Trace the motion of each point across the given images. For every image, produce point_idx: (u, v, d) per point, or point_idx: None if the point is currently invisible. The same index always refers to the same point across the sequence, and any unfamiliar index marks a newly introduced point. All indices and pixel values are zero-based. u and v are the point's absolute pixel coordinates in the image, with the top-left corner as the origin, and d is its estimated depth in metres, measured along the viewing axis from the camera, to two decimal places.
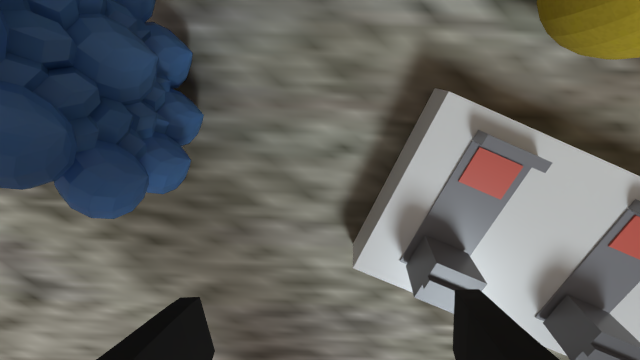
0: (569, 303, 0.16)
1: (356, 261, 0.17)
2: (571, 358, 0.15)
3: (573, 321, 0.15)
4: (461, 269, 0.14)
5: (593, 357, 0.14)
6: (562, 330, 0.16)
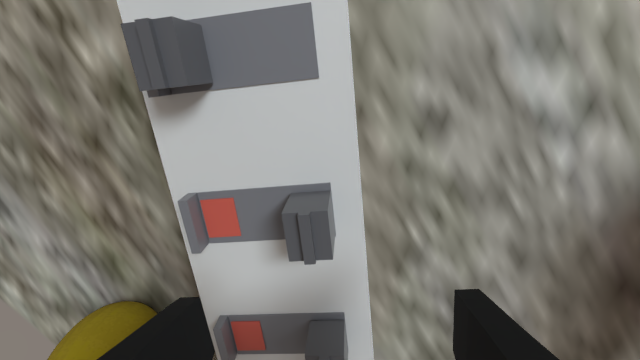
0: None
1: None
2: None
3: None
4: None
5: (313, 259, 0.14)
6: None
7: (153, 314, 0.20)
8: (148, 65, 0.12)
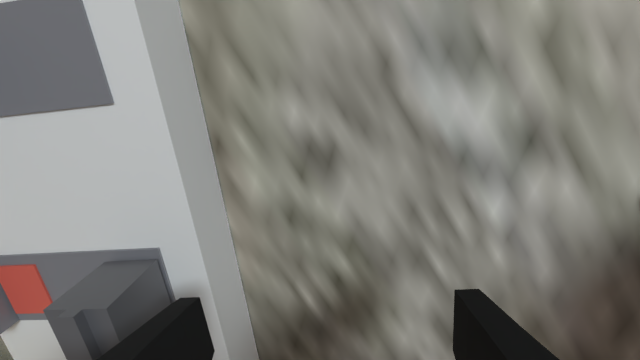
0: None
1: None
2: None
3: None
4: None
5: None
6: None
7: None
8: None
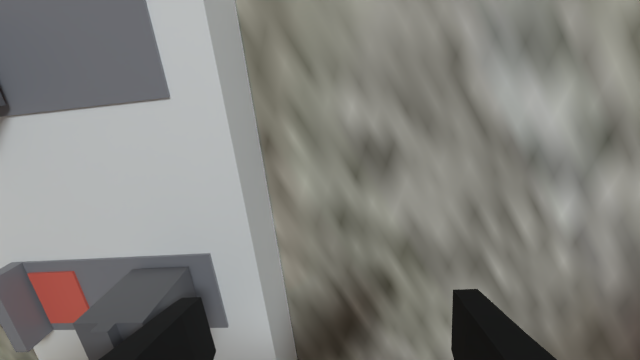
0: None
1: None
2: None
3: None
4: None
5: None
6: None
7: None
8: None
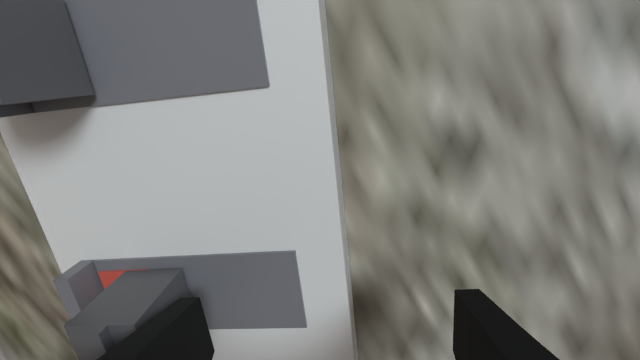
0: None
1: None
2: None
3: None
4: None
5: None
6: None
7: None
8: None
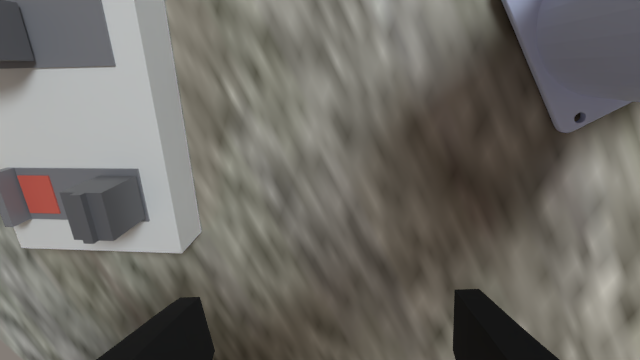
0: None
1: (175, 252, 0.18)
2: None
3: None
4: (71, 212, 0.15)
5: None
6: None
7: None
8: None
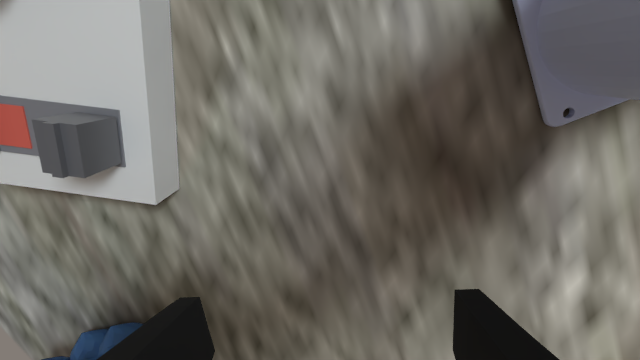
0: None
1: (149, 203, 0.17)
2: None
3: None
4: (43, 143, 0.14)
5: None
6: None
7: None
8: None
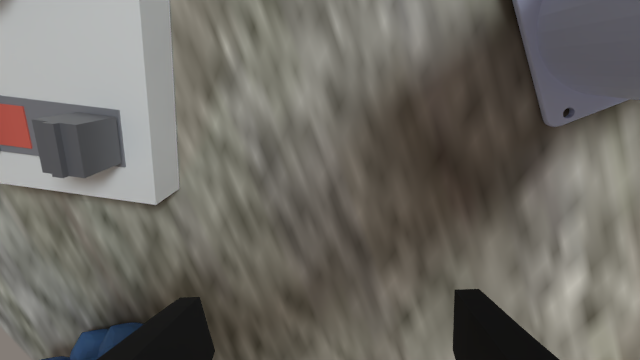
0: None
1: (149, 203, 0.17)
2: None
3: None
4: (43, 143, 0.14)
5: None
6: None
7: None
8: None
